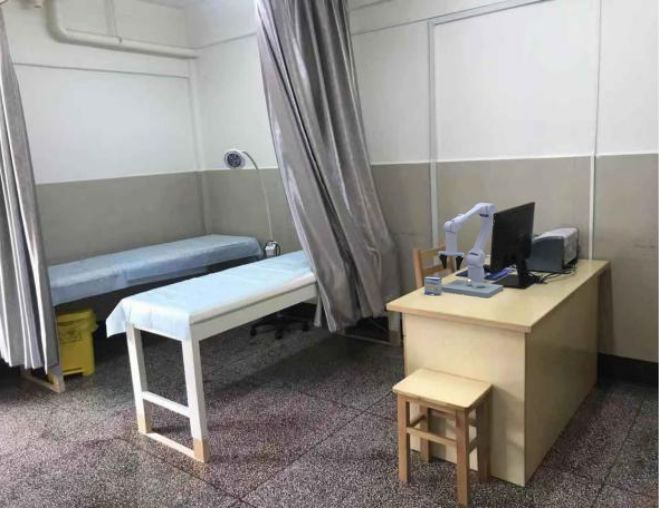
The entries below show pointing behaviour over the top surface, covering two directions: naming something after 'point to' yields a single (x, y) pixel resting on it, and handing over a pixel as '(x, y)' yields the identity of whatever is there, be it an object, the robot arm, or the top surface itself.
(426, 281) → the medicine box
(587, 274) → the top surface
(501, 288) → the deck
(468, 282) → the ball
